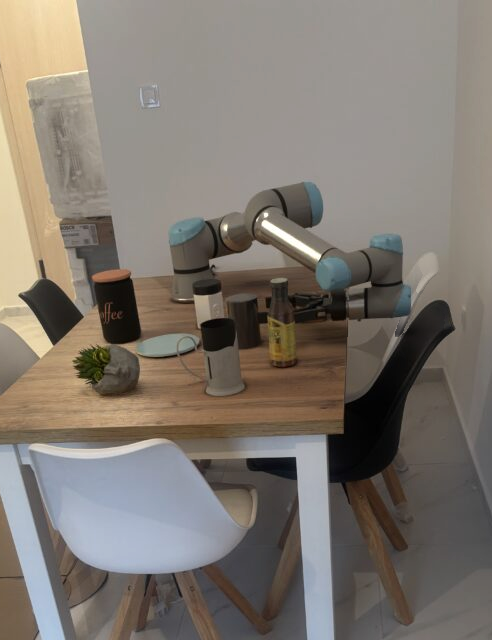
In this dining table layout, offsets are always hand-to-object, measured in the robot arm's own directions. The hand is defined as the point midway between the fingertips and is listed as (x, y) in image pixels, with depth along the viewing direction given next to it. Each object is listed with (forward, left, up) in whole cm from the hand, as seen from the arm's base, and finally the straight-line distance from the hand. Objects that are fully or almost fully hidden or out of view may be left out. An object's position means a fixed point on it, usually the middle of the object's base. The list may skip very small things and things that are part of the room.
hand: (261, 310), depth 194 cm
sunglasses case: (-25, +9, -9) cm, 28 cm away
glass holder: (+33, -7, -9) cm, 35 cm away
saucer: (0, -26, -8) cm, 27 cm away
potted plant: (+31, -32, -9) cm, 45 cm away
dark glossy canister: (0, -5, -8) cm, 10 cm away
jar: (-19, -18, -9) cm, 28 cm away
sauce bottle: (+17, +7, -9) cm, 20 cm away
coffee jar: (-11, -42, -9) cm, 44 cm away
